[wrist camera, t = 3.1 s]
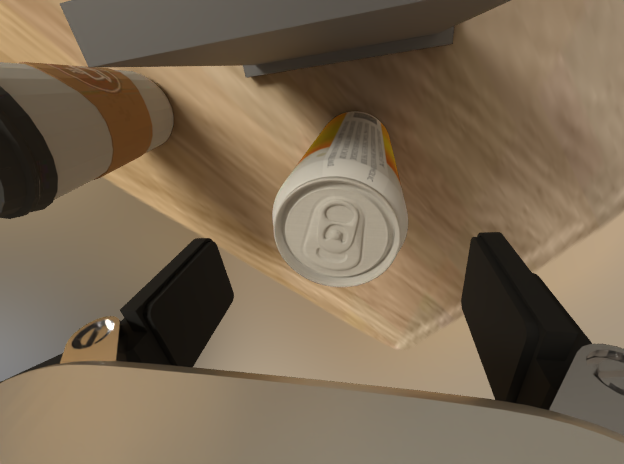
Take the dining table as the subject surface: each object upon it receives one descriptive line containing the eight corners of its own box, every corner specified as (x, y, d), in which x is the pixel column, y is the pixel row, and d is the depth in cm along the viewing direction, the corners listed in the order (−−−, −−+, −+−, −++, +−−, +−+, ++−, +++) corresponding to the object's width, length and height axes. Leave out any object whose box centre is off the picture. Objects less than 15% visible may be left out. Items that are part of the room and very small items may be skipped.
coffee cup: (193, 84, 24) (-5, 107, 11) (180, 168, 28) (27, 253, 16) (100, 39, 23) (-214, 11, 11) (102, 132, 28) (-120, 189, 15)
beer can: (315, 174, 26) (263, 278, 14) (324, 104, 23) (266, 155, 10) (380, 186, 26) (388, 306, 13) (398, 116, 22) (434, 184, 10)
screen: (240, 32, 21) (18, -20, 8) (453, -11, 18) (696, -231, 5) (250, 76, 23) (76, 96, 9) (449, 44, 20) (621, 2, 6)
